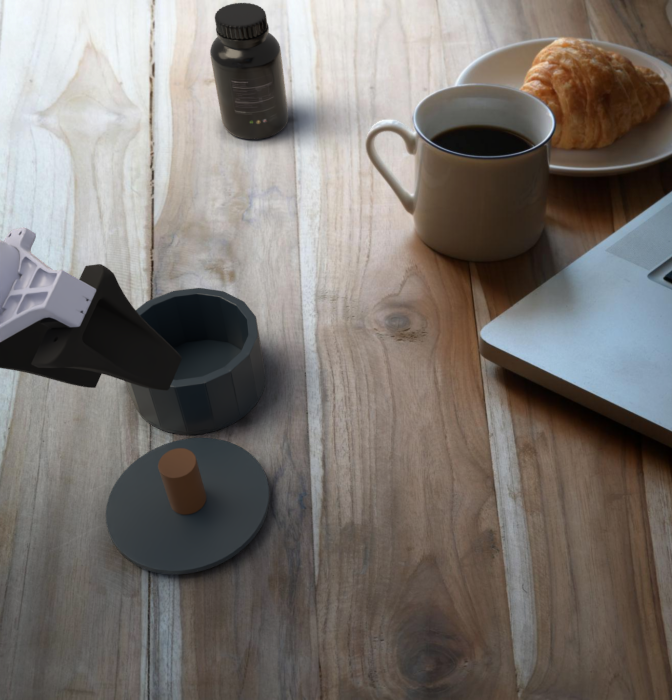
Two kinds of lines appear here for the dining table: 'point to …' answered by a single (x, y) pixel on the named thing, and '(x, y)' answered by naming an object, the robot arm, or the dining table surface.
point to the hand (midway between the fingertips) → (134, 373)
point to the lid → (187, 506)
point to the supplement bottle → (248, 73)
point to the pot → (203, 362)
